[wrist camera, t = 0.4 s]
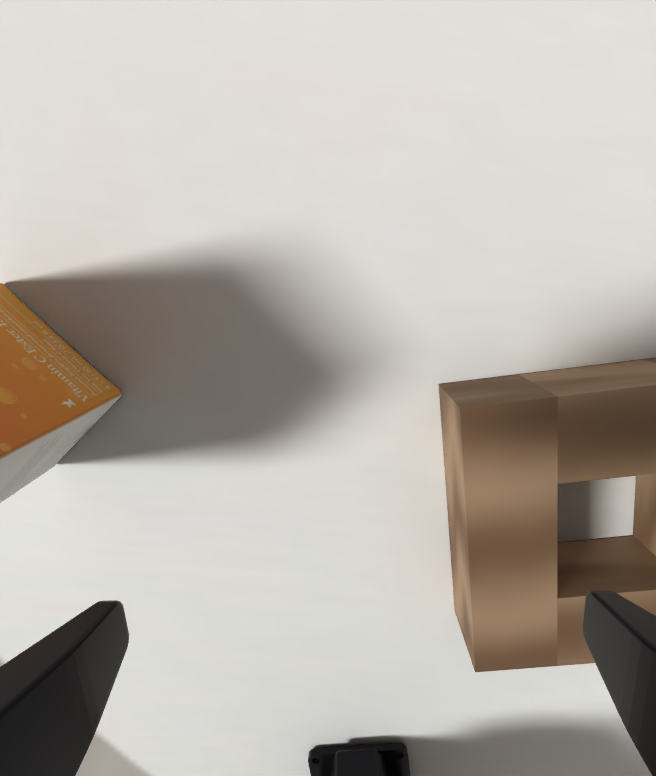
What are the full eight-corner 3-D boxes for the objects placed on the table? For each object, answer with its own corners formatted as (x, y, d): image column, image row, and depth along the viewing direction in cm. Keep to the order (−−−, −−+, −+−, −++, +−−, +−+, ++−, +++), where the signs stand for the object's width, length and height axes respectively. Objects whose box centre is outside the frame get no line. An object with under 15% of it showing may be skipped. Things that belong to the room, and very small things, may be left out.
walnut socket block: (702, 589, 24) (770, 649, 20) (454, 611, 25) (475, 672, 21) (727, 349, 21) (815, 366, 17) (438, 384, 22) (459, 407, 18)
